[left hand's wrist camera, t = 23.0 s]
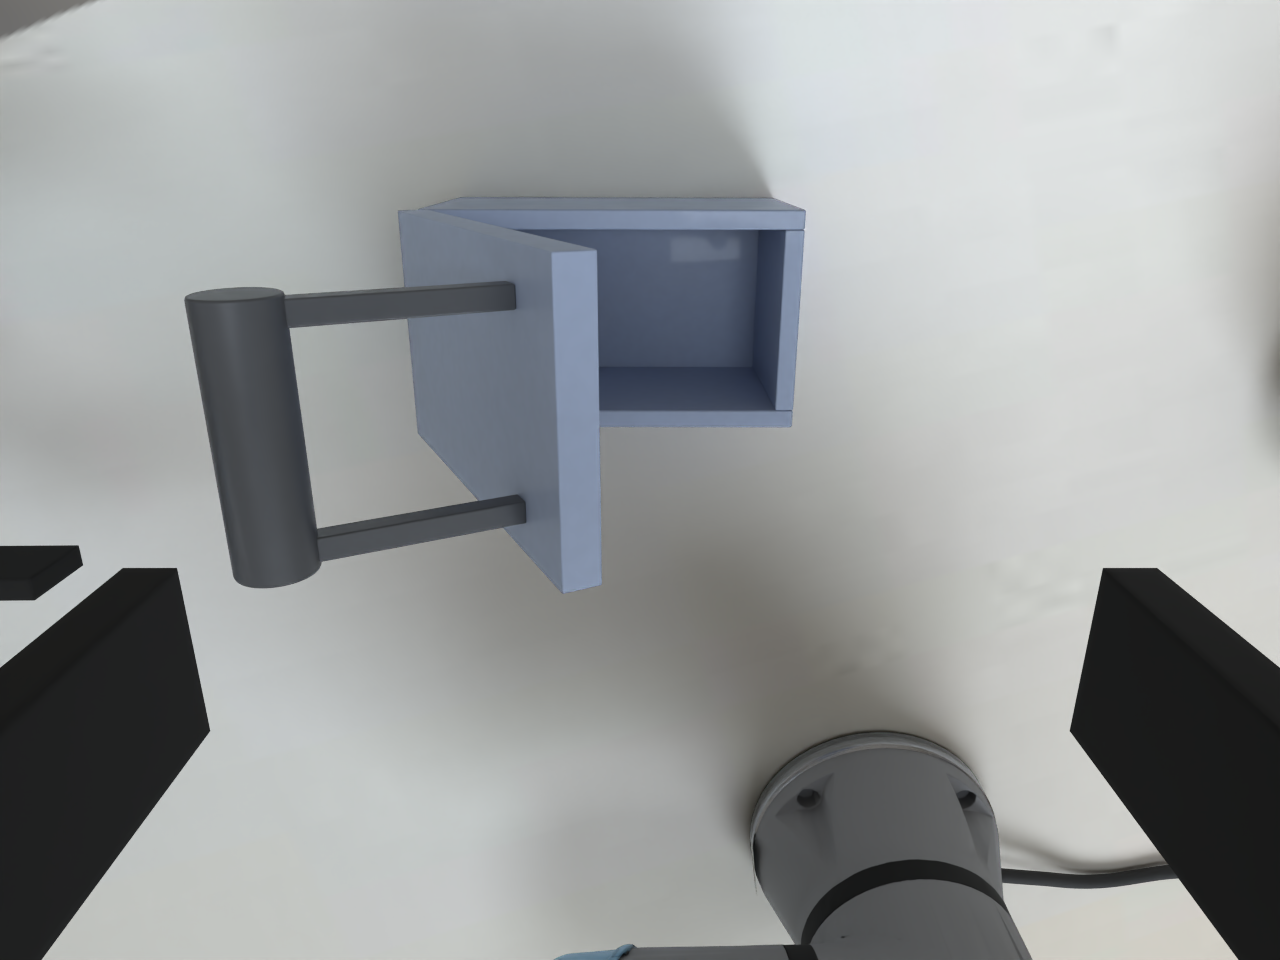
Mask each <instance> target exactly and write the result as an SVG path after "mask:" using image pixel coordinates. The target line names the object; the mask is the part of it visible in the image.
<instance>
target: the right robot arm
mask: <svg viewBox="0 0 1280 960" xmlns="http://www.w3.org/2000/svg"><path fill="white" fill-rule="evenodd" d="M81 566H83V563H82V558H81V554H80V550H79V546H0V601H5V600H36V599H37V598H38V597H40V596H41V595H43V594H44V593H45V592H47V591H48V590H50V589H51V588H52V587H54V586H55V585H56V584H58V583H59V582H61V581H62V580H63V579H65V578H66V577H67V576H69V575H70V574H72V573H73V572H74V571H76V570H77V569H78V568H80V567H81Z"/></svg>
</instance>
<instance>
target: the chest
mask: <svg viewBox="0 0 1280 960" xmlns="http://www.w3.org/2000/svg"><path fill="white" fill-rule="evenodd" d="M418 210H431V211H435V212H439V213H444V214H448V215H452V216H456V217H461V218H465V219H469V220H473V221H478V222H482V223H486V224H490V225H495V226H499V227H503V228H507V229H512V230H516V231H520V232H524V233H529V234H533V235H537V236H541V237H546V238H550V239H554V240H558V241H563V242H567V243H571V244H575V245H580V246H584V247H588V248H592V249H596V250H597V291H598V359H599V427H791V426H792V414H793V412H792V409H793V401H794V385H795V370H796V355H797V339H798V324H799V309H800V293H801V278H802V263H803V247H804V230H803V229H804V228H805V215H806V211H805V210H804V209H801V208H798V207H795V206H793V205H790V204H787V203H785V202H782V201H779V200H777V199H774V198H536V197H460V198H457V199H453V200H449V201H446V202H442V203H439V204H435V205H432V206H428V207H424V208H421V209H418Z"/></svg>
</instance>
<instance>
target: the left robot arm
mask: <svg viewBox="0 0 1280 960" xmlns="http://www.w3.org/2000/svg"><path fill="white" fill-rule="evenodd" d="M209 732H210V728H209V723H208V718H207V713H206V708H205V703H204V698H203V693H202V688H201V684H200V679H199V674H198V669H197V664H196V659H195V654H194V649H193V644H192V639H191V635H190V630H189V625H188V620H187V615H186V610H185V605H184V600H183V595H182V591H181V586H180V581H179V576H178V571H177V568H122V569H121V570H120V571H119V572H118V573H116V574H115V575H114V576H113V577H111V578H110V579H109V580H108V581H106V582H105V583H104V584H103V585H102V586H100V587H99V588H98V589H97V590H95V591H94V592H93V593H92V594H90V595H89V596H88V597H87V598H86V599H84V600H83V601H82V602H81V603H79V604H78V605H77V606H76V607H74V608H73V609H72V610H71V611H70V612H68V613H67V614H66V615H65V616H63V617H62V618H61V619H60V620H58V621H57V622H56V623H55V624H54V625H52V626H51V627H50V628H49V629H47V630H46V631H45V632H44V633H42V634H41V635H40V636H39V637H38V638H36V639H35V640H34V641H33V642H31V643H30V644H29V645H28V646H26V647H25V648H24V649H23V650H22V651H20V652H19V653H18V654H17V655H15V656H14V657H13V658H12V659H10V660H9V661H8V662H7V663H6V664H4V665H3V666H2V667H1V668H0V960H42V958H43V957H44V956H45V954H46V953H47V952H48V950H49V949H50V947H51V946H52V945H53V943H54V942H55V941H56V939H57V938H58V937H59V935H60V934H61V933H62V931H63V930H64V928H65V927H66V926H67V924H68V923H69V922H70V920H71V919H72V918H73V916H74V915H75V914H76V912H77V911H78V909H79V908H80V907H81V905H82V904H83V903H84V901H85V900H86V899H87V897H88V896H89V895H90V893H91V892H92V890H93V889H94V888H95V886H96V885H97V884H98V882H99V881H100V880H101V878H102V877H103V876H104V874H105V873H106V871H107V870H108V869H109V867H110V866H111V865H112V863H113V862H114V861H115V859H116V858H117V857H118V855H119V854H120V853H121V851H122V850H123V848H124V847H125V846H126V844H127V843H128V842H129V840H130V839H131V838H132V836H133V835H134V834H135V832H136V831H137V829H138V828H139V827H140V825H141V824H142V823H143V821H144V820H145V819H146V817H147V816H148V815H149V813H150V812H151V810H152V809H153V808H154V806H155V805H156V804H157V802H158V801H159V800H160V798H161V797H162V796H163V794H164V793H165V791H166V790H167V789H168V787H169V786H170V785H171V783H172V782H173V781H174V779H175V778H176V777H177V775H178V774H179V772H180V771H181V770H182V768H183V767H184V766H185V764H186V763H187V762H188V760H189V759H190V758H191V756H192V755H193V753H194V752H195V751H196V749H197V748H198V747H199V745H200V744H201V743H202V741H203V740H204V739H205V737H206V736H207V735H208V733H209ZM1070 732H1071V733H1072V735H1073V736H1074V737H1075V739H1076V740H1077V741H1078V743H1079V744H1080V745H1081V747H1082V748H1083V749H1084V751H1085V752H1086V753H1087V755H1088V756H1089V758H1090V759H1091V760H1092V762H1093V763H1094V764H1095V766H1096V767H1097V768H1098V770H1099V771H1100V772H1101V774H1102V775H1103V777H1104V778H1105V779H1106V781H1107V782H1108V783H1109V785H1110V786H1111V787H1112V789H1113V790H1114V791H1115V793H1116V794H1117V796H1118V797H1119V798H1120V800H1121V801H1122V802H1123V804H1124V805H1125V806H1126V808H1127V809H1128V810H1129V812H1130V813H1131V815H1132V816H1133V817H1134V819H1135V820H1136V821H1137V823H1138V824H1139V825H1140V827H1141V828H1142V829H1143V831H1144V832H1145V834H1146V835H1147V836H1148V838H1149V839H1150V840H1151V842H1152V843H1153V844H1154V846H1155V847H1156V848H1157V850H1158V851H1159V853H1160V854H1161V855H1162V857H1163V858H1164V859H1165V861H1166V862H1167V863H1168V865H1164V866H1156V867H1149V868H1143V869H1136V870H1130V871H1124V872H1117V873H1109V874H1095V875H1074V874H1061V873H1051V872H1040V871H1027V870H1015V869H1003V868H1001V862H1000V849H999V836H998V829H997V825H996V821H995V817H994V813H993V810H992V807H991V805H990V802H989V800H988V799H987V797H986V795H985V793H984V791H983V789H982V787H981V786H980V784H979V782H978V780H977V778H976V777H975V775H974V774H973V773H972V771H971V770H970V769H969V768H968V767H967V766H966V765H965V764H964V763H963V762H962V761H961V760H960V759H959V758H958V757H957V756H955V755H954V754H952V753H951V752H949V751H948V750H946V749H944V748H943V747H941V746H939V745H937V744H935V743H932V742H930V741H928V740H925V739H921V738H918V737H915V736H910V735H906V734H899V733H888V732H870V733H861V734H854V735H849V736H844V737H840V738H837V739H833V740H830V741H828V742H825V743H822V744H820V745H818V746H816V747H814V748H811V749H809V750H808V751H806V752H804V753H803V754H801V755H799V756H798V757H796V758H795V759H794V760H792V761H791V762H789V763H788V764H787V765H786V766H785V767H783V768H782V769H781V770H780V771H779V772H778V773H777V774H776V775H775V776H774V777H773V779H772V780H771V781H770V782H769V784H768V785H767V786H766V788H765V789H764V791H763V792H762V794H761V796H760V798H759V800H758V802H757V804H756V807H755V810H754V812H753V816H752V820H751V828H750V843H751V851H752V858H753V870H754V881H755V887H756V880H755V872H756V876H757V878H758V881H759V883H760V885H761V888H762V890H763V892H764V894H765V896H766V898H767V900H768V901H769V903H770V904H771V906H772V908H773V909H774V911H775V913H776V914H777V916H778V917H779V919H780V921H781V922H782V924H783V925H784V927H785V929H786V930H787V932H788V933H789V935H790V937H791V938H792V940H793V942H794V943H795V945H754V946H709V947H647V948H637V947H635V946H634V945H633V944H627V945H623V946H621V947H619V948H617V949H616V950H608V951H596V952H584V953H572V954H566V955H563V956H560V957H558V958H556V959H554V960H1032V958H1031V956H1030V954H1029V952H1028V950H1027V948H1026V946H1025V944H1024V942H1023V940H1022V938H1021V936H1020V934H1019V932H1018V929H1017V927H1016V925H1015V923H1014V922H1013V920H1012V918H1011V915H1010V913H1009V911H1008V909H1007V907H1006V905H1005V903H1004V900H1003V888H1002V883H1013V884H1026V885H1040V886H1051V887H1062V888H1079V889H1092V888H1108V887H1117V886H1125V885H1131V884H1138V883H1144V882H1150V881H1157V880H1165V879H1176V878H1179V880H1180V881H1181V882H1182V884H1183V885H1184V886H1185V888H1186V889H1187V890H1188V892H1189V893H1190V895H1191V896H1192V897H1193V899H1194V900H1195V901H1196V903H1197V904H1198V905H1199V907H1200V908H1201V909H1202V911H1203V912H1204V914H1205V915H1206V916H1207V918H1208V919H1209V920H1210V922H1211V923H1212V924H1213V926H1214V927H1215V928H1216V930H1217V931H1218V933H1219V934H1220V935H1221V937H1222V938H1223V939H1224V941H1225V942H1226V943H1227V945H1228V946H1229V947H1230V949H1231V950H1232V952H1233V953H1234V954H1235V956H1236V957H1237V958H1238V960H1280V668H1279V667H1278V666H1277V665H1276V664H1274V663H1273V662H1272V661H1271V660H1270V659H1268V658H1267V657H1266V656H1265V655H1263V654H1262V653H1261V652H1260V651H1258V650H1257V649H1256V648H1255V647H1254V646H1252V645H1251V644H1250V643H1249V642H1247V641H1246V640H1245V639H1244V638H1242V637H1241V636H1240V635H1239V634H1238V633H1236V632H1235V631H1234V630H1233V629H1231V628H1230V627H1229V626H1228V625H1226V624H1225V623H1224V622H1223V621H1222V620H1220V619H1219V618H1218V617H1217V616H1215V615H1214V614H1213V613H1212V612H1210V611H1209V610H1208V609H1207V608H1206V607H1204V606H1203V605H1202V604H1201V603H1199V602H1198V601H1197V600H1196V599H1194V598H1193V597H1192V596H1191V595H1190V594H1188V593H1187V592H1186V591H1185V590H1183V589H1182V588H1181V587H1180V586H1178V585H1177V584H1176V583H1175V582H1174V581H1172V580H1171V579H1170V578H1169V577H1167V576H1166V575H1165V574H1164V573H1162V572H1161V571H1160V570H1159V569H1158V568H1103V571H1102V576H1101V581H1100V586H1099V591H1098V595H1097V600H1096V605H1095V610H1094V615H1093V620H1092V625H1091V630H1090V635H1089V639H1088V644H1087V649H1086V654H1085V659H1084V664H1083V669H1082V674H1081V679H1080V684H1079V688H1078V693H1077V698H1076V703H1075V708H1074V713H1073V718H1072V723H1071V728H1070ZM756 894H757V892H756Z"/></svg>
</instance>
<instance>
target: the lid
mask: <svg viewBox="0 0 1280 960" xmlns="http://www.w3.org/2000/svg"><path fill="white" fill-rule="evenodd" d="M398 217H399V228H400V239H401V250H402V262H403V273H404V284H405V287H402V288H387V289H372V290H356V291H341V292H325V293H310V294H294V295H285V294H284V292H283V291H281V290H278V289H273V288H262V287H241V288H224V289H214V290H206V291H200V292H196V293H192V294H189V295H187V296H186V297H185V299H184V301H185V307H186V313H187V318H188V324H189V329H190V335H191V341H192V346H193V352H194V358H195V363H196V369H197V374H198V380H199V386H200V391H201V397H202V403H203V408H204V414H205V419H206V425H207V431H208V436H209V442H210V448H211V453H212V459H213V464H214V470H215V476H216V481H217V487H218V493H219V498H220V504H221V509H222V515H223V521H224V526H225V532H226V538H227V543H228V549H229V554H230V560H231V566H232V571H233V576H234V579H235V580H236V581H237V582H238V583H239V584H241V585H243V586H247V587H252V588H274V587H281V586H286V585H290V584H294V583H297V582H300V581H302V580H304V579H306V578H308V577H310V576H312V575H313V574H315V573H316V572H317V571H318V570H319V568H320V566H321V562H322V561H328V560H333V559H338V558H344V557H349V556H354V555H359V554H365V553H370V552H375V551H381V550H386V549H391V548H397V547H402V546H407V545H413V544H418V543H423V542H428V541H434V540H439V539H444V538H450V537H455V536H460V535H466V534H471V533H476V532H482V531H487V530H492V529H497V528H504V529H505V530H506V532H507V533H508V534H509V535H510V536H511V537H512V538H513V539H514V540H515V542H516V543H517V544H518V545H519V546H520V547H521V548H522V549H523V550H524V551H525V553H526V554H527V555H528V556H529V557H530V558H531V559H532V560H533V561H534V563H535V564H536V565H537V566H538V567H539V568H540V569H541V570H542V571H543V573H544V574H545V575H546V576H547V577H548V578H549V579H550V580H551V581H552V583H553V584H554V585H555V586H556V587H557V588H558V589H559V590H560V591H561V593H563V594H564V593H569V592H573V591H577V590H582V589H586V588H590V587H595V586H599V585H602V563H601V495H600V427H599V359H598V291H597V250H596V249H592V248H588V247H584V246H580V245H575V244H571V243H567V242H563V241H558V240H554V239H550V238H546V237H541V236H537V235H533V234H529V233H524V232H520V231H516V230H512V229H507V228H503V227H499V226H495V225H490V224H486V223H482V222H478V221H473V220H469V219H465V218H461V217H456V216H452V215H448V214H444V213H439V212H435V211H431V210H399V211H398ZM396 319H408V328H409V339H410V350H411V361H412V372H413V383H414V394H415V405H416V417H417V428H418V434H419V435H420V436H421V437H422V438H423V439H424V440H425V442H426V443H427V444H428V445H429V446H430V447H431V448H432V449H433V450H434V452H435V453H436V454H437V455H438V456H439V457H440V458H441V459H442V460H443V462H444V463H445V464H446V465H447V466H448V467H449V468H450V469H451V470H452V472H453V473H454V474H455V475H456V476H457V477H458V478H459V479H460V480H461V482H462V483H463V484H464V485H465V486H466V487H467V488H468V489H469V490H470V492H471V493H472V494H473V495H474V496H475V497H476V498H477V499H478V500H479V501H475V502H469V503H464V504H458V505H452V506H446V507H441V508H435V509H429V510H423V511H417V512H412V513H406V514H400V515H394V516H388V517H383V518H377V519H371V520H365V521H360V522H354V523H348V524H342V525H336V526H331V527H325V528H319V529H317V526H316V519H315V511H314V504H313V497H312V490H311V482H310V475H309V468H308V461H307V453H306V446H305V439H304V432H303V424H302V417H301V410H300V403H299V395H298V388H297V381H296V374H295V366H294V359H293V352H292V345H291V338H290V330H289V328H296V327H308V326H321V325H333V324H346V323H359V322H371V321H384V320H396Z"/></svg>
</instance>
